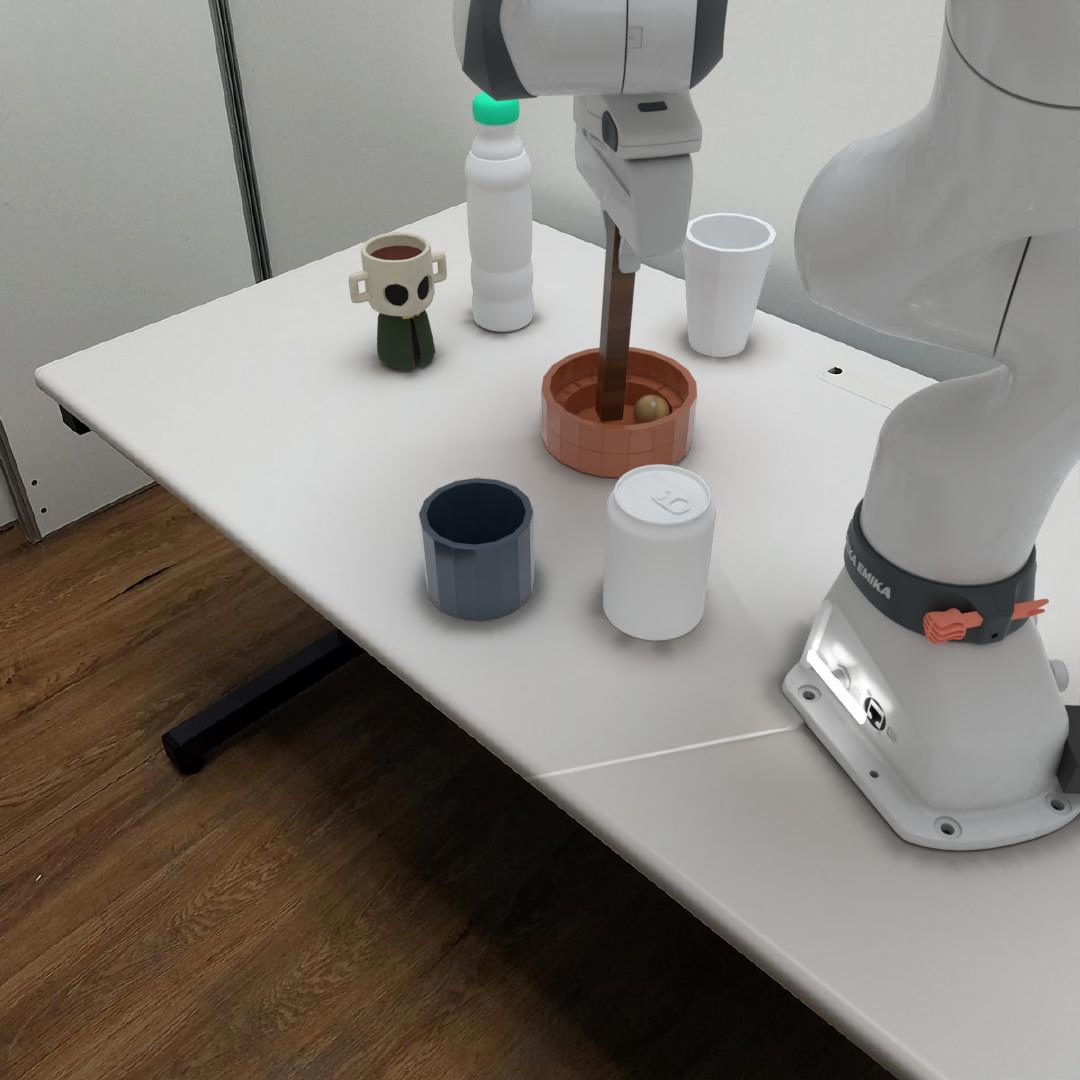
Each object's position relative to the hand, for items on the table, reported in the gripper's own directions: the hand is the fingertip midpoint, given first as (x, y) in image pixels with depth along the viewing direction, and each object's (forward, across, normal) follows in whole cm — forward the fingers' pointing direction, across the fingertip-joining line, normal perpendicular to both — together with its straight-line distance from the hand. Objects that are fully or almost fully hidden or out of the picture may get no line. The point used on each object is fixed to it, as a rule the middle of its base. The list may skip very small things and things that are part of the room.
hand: (621, 260), depth 93 cm
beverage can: (+19, +24, -4) cm, 31 cm away
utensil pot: (+18, +18, -17) cm, 31 cm away
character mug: (+19, -20, -18) cm, 32 cm away
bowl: (+18, +1, 0) cm, 19 cm away
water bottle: (+19, -26, -6) cm, 32 cm away
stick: (+16, 0, -1) cm, 16 cm away
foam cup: (+19, -14, +16) cm, 29 cm away
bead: (+16, +1, +4) cm, 16 cm away
